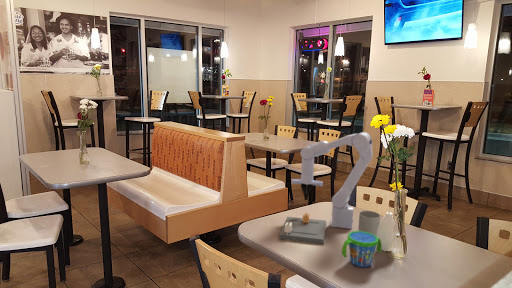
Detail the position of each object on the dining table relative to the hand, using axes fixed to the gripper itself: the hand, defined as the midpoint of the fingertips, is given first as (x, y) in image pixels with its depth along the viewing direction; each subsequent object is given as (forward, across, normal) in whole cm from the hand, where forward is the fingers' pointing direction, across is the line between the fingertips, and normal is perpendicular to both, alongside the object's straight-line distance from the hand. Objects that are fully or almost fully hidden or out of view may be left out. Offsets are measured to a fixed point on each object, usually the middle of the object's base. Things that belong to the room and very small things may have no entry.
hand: (306, 199), depth 171 cm
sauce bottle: (+10, +34, -26) cm, 44 cm away
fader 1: (+7, -5, -23) cm, 24 cm away
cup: (+10, +28, -14) cm, 33 cm away
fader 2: (+7, +1, -10) cm, 12 cm away
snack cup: (+10, +24, -39) cm, 47 cm away
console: (+9, +1, -16) cm, 19 cm away
